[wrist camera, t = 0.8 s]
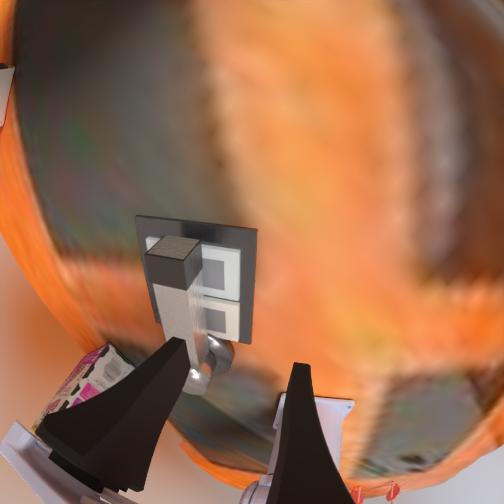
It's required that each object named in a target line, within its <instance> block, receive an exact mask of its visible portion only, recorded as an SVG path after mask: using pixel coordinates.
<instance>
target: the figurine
mask: <svg viewBox="0 0 504 504" xmlns="http://www.w3.org/2000/svg"><path fill="white" fill-rule="evenodd" d="M405 485H406V484H405ZM393 486H394V481H393V482H392V487H391V488H390V489H391V490H390V491H389V492H388V493H387V496H386V498H387V501H391V504H393V501H392V500H394V499H395V498H396V497H397V496H398V494H399V492H400V488H399V487H400V486H398V485H397V484H396V485H395V486H394V487H393ZM402 486H403V485H402ZM360 489H361V486H359V489H358V493H357V491H354V490H353V491H352V493H351V494H350V495H351V497H352V498H353V500H354V502H355V503H356V504H362V503H363V499H364V498H363V496H362V495H361V494H360V493H366V492H360ZM385 490H387V489H385ZM379 491H382V490H379ZM372 492H376V491H372Z"/></svg>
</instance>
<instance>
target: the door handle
mask: <svg viewBox="0 0 504 504" xmlns="http://www.w3.org/2000/svg"><path fill="white" fill-rule="evenodd" d="M144 258H145V263H146V268H147V273H148V278H149V283H153V287H154V292H155V296H156V301H157V305H158V310H159V314H160V318H161V322H162V326H163V330H164V334H165V338H166V342H167V341H168V340H169V339H170V338H171V337H177V338H181V339H184V340H186V345H187V350H188V355H189V360H190V364H191V368H190V371H189V374H188V377H187V380H186V382H185V385H184V387H183V389H182V391H184V392H186V393H189V394H193V395H202V394H204V393H205V392H206V390H207V388H208V385H209V383H210V380H211V378H212V376H213V373H214V371H215V368H216V366H217V360H216V358H215V357H214V355H213V354H212V353H211V352H209V342H208V333H207V324H206V314H205V303H204V292H203V280H202V268H203V260H202V244H201V240H197V239H190V238H183V237H176V236H168V235H164V236H163V237H162V238H161V239H160V240H159V241H158V242H157V243H156V244H155V245H153V246H152V247H151V248H150V249H149V250H148V251H147V252H146V253H145V254H144Z"/></svg>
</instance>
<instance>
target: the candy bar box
mask: <svg viewBox="0 0 504 504" xmlns="http://www.w3.org/2000/svg"><path fill="white" fill-rule="evenodd" d="M134 369H135V367H134V366H133V365H132V364H131V363H130V362H129V361H128V360H127V359H126V358H125V357H124V356H123V355H122V354H121V353H120V352H119V351H118V350H117V349H116V348H115V347H113V346H112V345H111V344H110V343H108V344H106V345H105V346H103V347H101V348H99V349H97V350H95V351H94V352H92V353H90V354H88V355H86V356H84V357H83V359H82V360H81V361H80V363H79V364H78V365H77V366H76V368H75V369H74V370H73V372H72V373H71V374H70V376H69V377H68V379H66V381H65V382H64V384H63V385H62V386H61V388H60V389H59V390H58V392H57V393H56V394H55V396H54V397H53V398H52V400H51V401H50V402H49V404H48V405H47V407H46V408H45V409H44V411H43V412H42V414H41V415H40V417H39V418H38V420H37V421H36V422H35V424H34V425H33V427H32V428H31V429H32V430H33V431H34V433H35V430H36V429H37V427H38V426H39V424H40V423H41V421H42V420H43V418H44V417H45V415H46V414H49V413H53V412H56V411H60V410H63V409H66V408H69V407H72V406H74V405H76V404H79V403H81V402H84V401H86V400H88V399H90V398H92V397H94V396H96V395H98V394H99V393H101V392H103V391H105V390H106V389H108V388H110V387H111V386H113V385H114V384H116V383H117V382H119V381H120V380H122V379H123V378H124V377H126V376H127V375H128V374H130V373H131V372H132V371H133V370H134ZM37 437H38V436H37ZM38 438H39V437H38ZM39 439H40V438H39ZM40 440H41V439H40ZM41 441H42V440H41ZM42 442H43V443H45V442H44V441H42ZM45 444H46V443H45ZM46 445H47V444H46ZM47 446H48V447H50V446H49V445H47ZM50 448H51V447H50ZM51 449H52V448H51ZM52 450H53V449H52Z"/></svg>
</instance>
